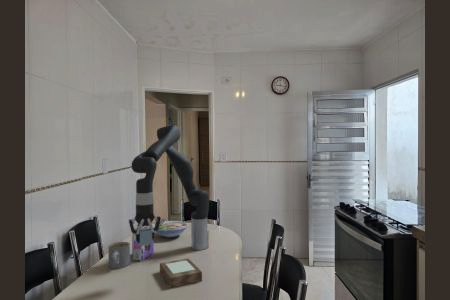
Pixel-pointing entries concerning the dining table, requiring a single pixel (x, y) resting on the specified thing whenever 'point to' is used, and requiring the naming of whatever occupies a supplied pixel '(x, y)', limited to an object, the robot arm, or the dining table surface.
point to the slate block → (145, 236)
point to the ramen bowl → (170, 228)
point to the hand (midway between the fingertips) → (145, 241)
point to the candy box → (141, 248)
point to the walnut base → (180, 272)
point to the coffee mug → (119, 255)
